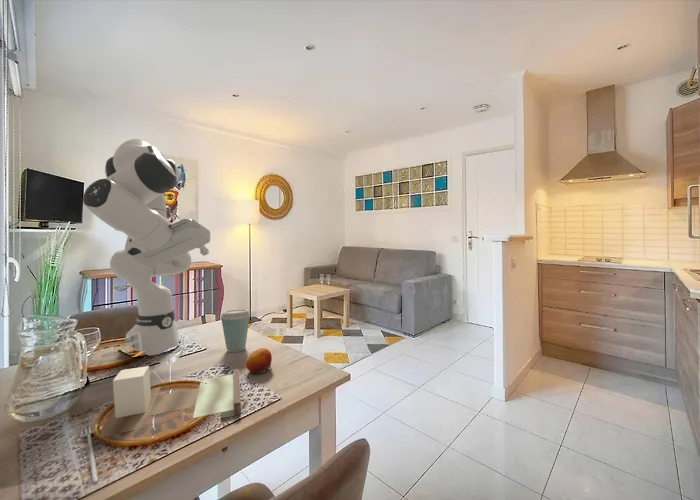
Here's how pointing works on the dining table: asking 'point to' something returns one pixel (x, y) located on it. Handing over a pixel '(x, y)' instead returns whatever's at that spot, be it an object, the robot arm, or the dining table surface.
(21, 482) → the dining table surface
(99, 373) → the dining table surface
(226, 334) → the disposable coffee cup
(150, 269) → the robot arm
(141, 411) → the cream block
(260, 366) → the fruit
